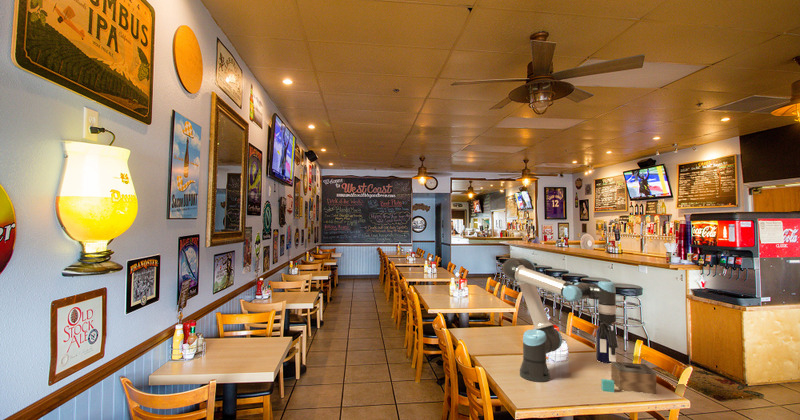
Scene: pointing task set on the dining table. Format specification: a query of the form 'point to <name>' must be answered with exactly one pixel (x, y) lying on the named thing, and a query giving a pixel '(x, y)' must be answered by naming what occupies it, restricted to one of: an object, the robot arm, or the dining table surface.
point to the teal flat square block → (607, 385)
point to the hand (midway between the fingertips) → (607, 356)
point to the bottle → (599, 355)
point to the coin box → (633, 377)
